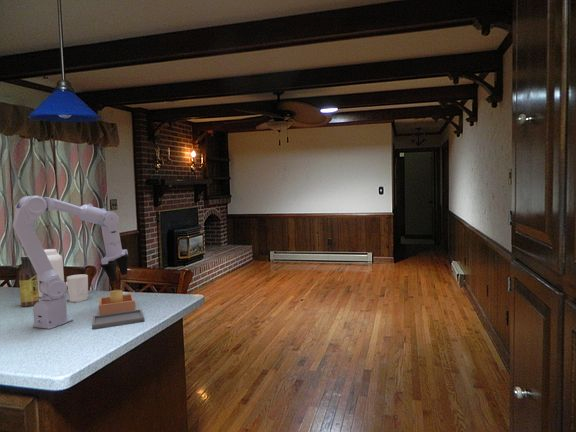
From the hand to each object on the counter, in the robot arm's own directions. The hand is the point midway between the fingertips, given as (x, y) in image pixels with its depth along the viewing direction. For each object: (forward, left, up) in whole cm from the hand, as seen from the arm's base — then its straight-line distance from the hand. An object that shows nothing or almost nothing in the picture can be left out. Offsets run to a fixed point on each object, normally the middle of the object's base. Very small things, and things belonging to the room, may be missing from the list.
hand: (118, 277), depth 157 cm
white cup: (+5, +27, -12) cm, 30 cm away
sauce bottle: (-6, +41, -12) cm, 43 cm away
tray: (-13, -11, -12) cm, 21 cm away
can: (+9, +49, -12) cm, 51 cm away
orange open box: (-2, -1, -12) cm, 12 cm away
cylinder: (-2, -1, -11) cm, 11 cm away
